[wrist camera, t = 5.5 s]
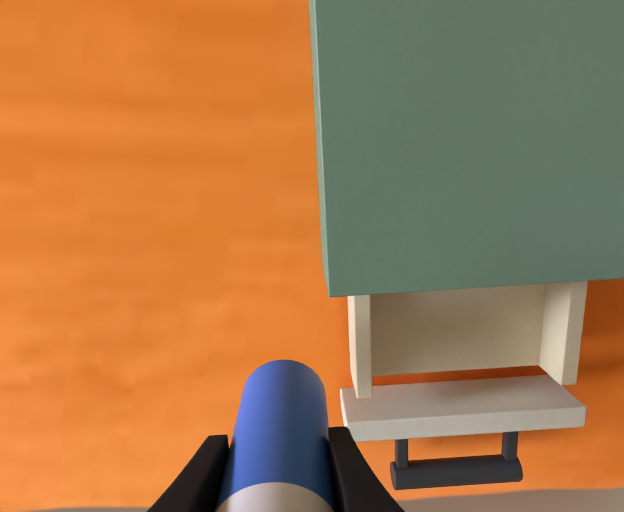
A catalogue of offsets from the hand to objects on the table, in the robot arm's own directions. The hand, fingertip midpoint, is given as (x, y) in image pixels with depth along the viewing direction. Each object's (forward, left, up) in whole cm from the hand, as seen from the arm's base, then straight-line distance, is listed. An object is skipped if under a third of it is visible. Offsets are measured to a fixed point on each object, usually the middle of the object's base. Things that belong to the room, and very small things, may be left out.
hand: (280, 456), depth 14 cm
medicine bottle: (0, 0, -3) cm, 3 cm away
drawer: (-9, 0, -9) cm, 13 cm away
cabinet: (-9, -11, -10) cm, 17 cm away
